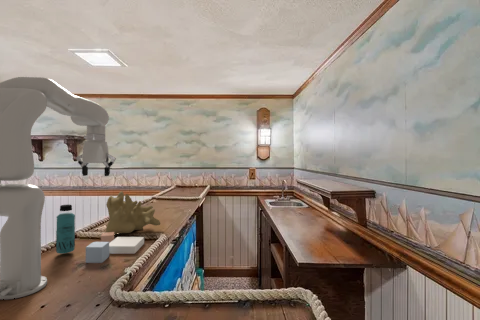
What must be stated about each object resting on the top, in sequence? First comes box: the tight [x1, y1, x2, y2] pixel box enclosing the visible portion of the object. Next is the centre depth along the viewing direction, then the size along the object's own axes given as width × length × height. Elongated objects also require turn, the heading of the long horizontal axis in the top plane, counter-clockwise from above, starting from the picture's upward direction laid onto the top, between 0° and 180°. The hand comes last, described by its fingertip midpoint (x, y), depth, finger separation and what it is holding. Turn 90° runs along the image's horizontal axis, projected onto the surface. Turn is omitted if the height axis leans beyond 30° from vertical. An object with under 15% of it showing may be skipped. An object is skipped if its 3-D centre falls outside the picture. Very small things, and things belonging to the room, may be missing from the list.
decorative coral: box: [105, 190, 161, 234], centre depth 138 cm, size 26×22×25 cm
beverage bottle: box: [55, 204, 76, 255], centre depth 107 cm, size 6×7×20 cm
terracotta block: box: [100, 232, 115, 243], centre depth 119 cm, size 5×5×5 cm
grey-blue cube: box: [85, 241, 110, 264], centre depth 103 cm, size 6×6×6 cm
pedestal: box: [109, 236, 145, 255], centre depth 115 cm, size 12×12×3 cm
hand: (96, 175), depth 123 cm, fingers open, 9 cm apart
